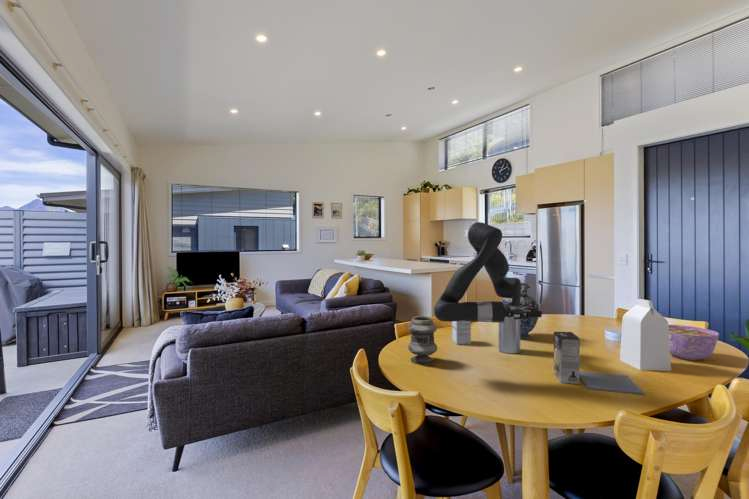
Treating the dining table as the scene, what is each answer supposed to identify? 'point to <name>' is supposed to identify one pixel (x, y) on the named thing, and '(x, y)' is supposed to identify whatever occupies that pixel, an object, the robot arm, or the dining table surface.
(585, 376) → the grey mat
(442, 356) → the dining table surface
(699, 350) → the bowl of food
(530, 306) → the decorative vase
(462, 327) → the supplement box
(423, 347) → the apothecary jar
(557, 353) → the coffee box
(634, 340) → the milk
